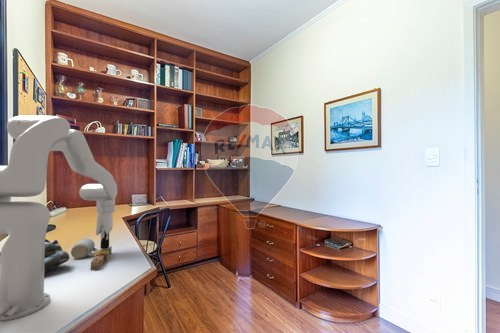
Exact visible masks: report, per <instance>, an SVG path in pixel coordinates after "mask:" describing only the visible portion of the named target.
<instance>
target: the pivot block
mask: <svg viewBox="0 0 500 333" xmlns="http://www.w3.org/2000/svg"><path fill="white" fill-rule="evenodd" d="M106 249H109V256H111V255H112V249H113V248H112V246H109V247H108V248H106Z"/></svg>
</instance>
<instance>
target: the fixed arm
mask: <svg viewBox="0 0 500 333" xmlns="http://www.w3.org/2000/svg"><path fill="white" fill-rule="evenodd" d="M101 255H102V254H100V255H97V256H96V257H95V258H93V259H92V261H90V270H91V271H96V270H95V262H96V261H97V260H98V258H99V257H100V256H101Z"/></svg>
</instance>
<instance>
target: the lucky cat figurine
mask: <svg viewBox="0 0 500 333" xmlns="http://www.w3.org/2000/svg"><path fill="white" fill-rule="evenodd" d="M70 257H71V256H70V254H69V253H68V252H66V251H65V250H63V248H62V246H61V245H60V244H59V241H58V240H57V239H54V240H52V241H50V240H48V239H46V238H45V262H44V274H45V273H48V272H49V271H51V270H53V269H55V268H57V267H60V265H63V264H64V263H65V264H66V263H67V262H68V261H69V260H70Z"/></svg>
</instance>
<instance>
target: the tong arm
mask: <svg viewBox="0 0 500 333" xmlns="http://www.w3.org/2000/svg"><path fill="white" fill-rule="evenodd" d="M105 262H107V261H106V254H102V255H101V256H100V257H99V258H98V260H97V261H96V262H95V270H94V271H99V270H100V268H102V266H103V264H105Z"/></svg>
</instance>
